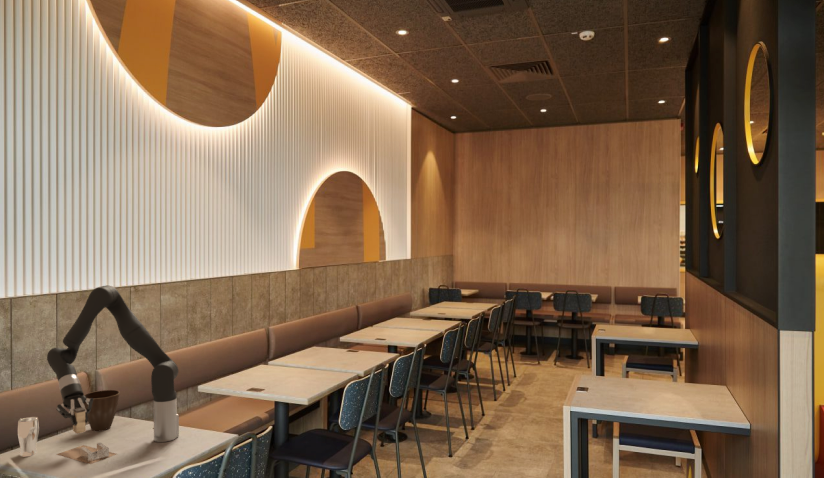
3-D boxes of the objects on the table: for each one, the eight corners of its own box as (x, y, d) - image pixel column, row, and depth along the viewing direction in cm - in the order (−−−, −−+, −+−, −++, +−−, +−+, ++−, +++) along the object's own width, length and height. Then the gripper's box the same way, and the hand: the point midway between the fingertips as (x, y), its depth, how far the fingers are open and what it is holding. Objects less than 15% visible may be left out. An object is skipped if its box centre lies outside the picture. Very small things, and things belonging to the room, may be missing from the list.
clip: (80, 456, 218) (80, 447, 218) (100, 450, 223) (100, 442, 223) (88, 462, 212) (88, 453, 212) (108, 456, 217) (108, 448, 217)
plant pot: (98, 422, 262) (98, 389, 262) (127, 423, 260) (126, 390, 260) (74, 433, 247) (74, 398, 247) (105, 435, 245) (104, 399, 245)
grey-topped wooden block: (73, 430, 223) (72, 408, 223) (81, 428, 225) (81, 406, 225) (77, 433, 219) (76, 411, 219) (85, 431, 221) (85, 409, 222)
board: (83, 447, 230) (83, 445, 230) (117, 456, 220) (117, 453, 220) (56, 457, 220) (56, 454, 220) (90, 467, 210) (90, 464, 210)
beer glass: (28, 460, 217) (27, 422, 217) (13, 459, 218) (13, 421, 218) (43, 453, 224) (42, 417, 224) (28, 452, 225) (28, 416, 225)
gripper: (53, 386, 222) (63, 422, 214) (91, 379, 232) (102, 414, 224) (49, 397, 225) (59, 433, 217) (87, 389, 236) (97, 424, 228)
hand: (80, 423), depth 221 cm, fingers closed on grey-topped wooden block, 3 cm apart
